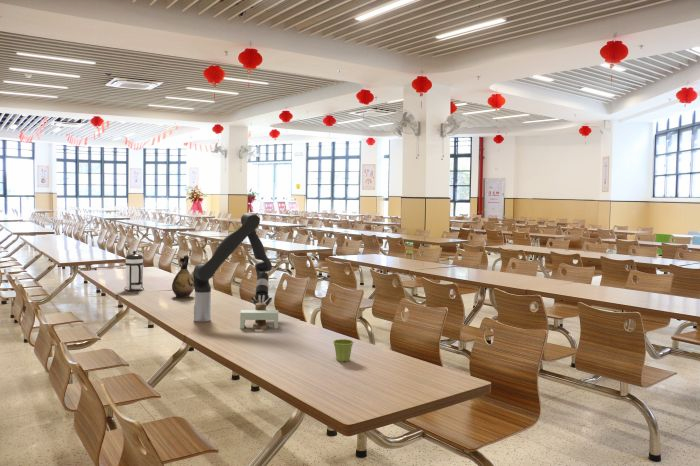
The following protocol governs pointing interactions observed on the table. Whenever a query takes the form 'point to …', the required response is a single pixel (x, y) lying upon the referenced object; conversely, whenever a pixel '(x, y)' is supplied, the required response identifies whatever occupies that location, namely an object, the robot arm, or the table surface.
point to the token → (258, 330)
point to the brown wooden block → (260, 323)
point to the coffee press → (134, 271)
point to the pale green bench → (258, 316)
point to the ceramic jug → (183, 280)
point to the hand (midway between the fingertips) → (260, 311)
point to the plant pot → (343, 349)
